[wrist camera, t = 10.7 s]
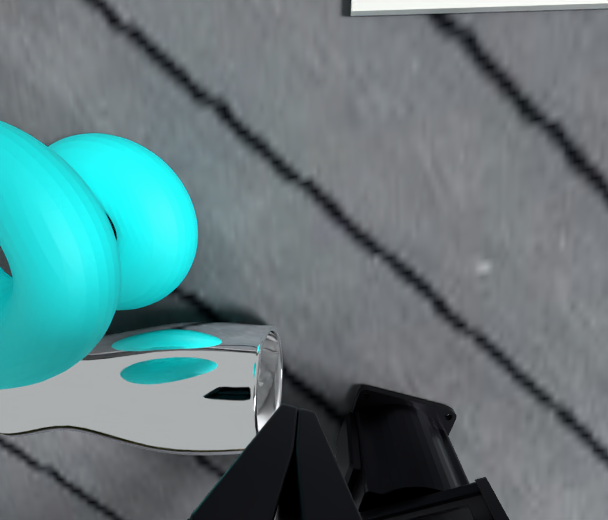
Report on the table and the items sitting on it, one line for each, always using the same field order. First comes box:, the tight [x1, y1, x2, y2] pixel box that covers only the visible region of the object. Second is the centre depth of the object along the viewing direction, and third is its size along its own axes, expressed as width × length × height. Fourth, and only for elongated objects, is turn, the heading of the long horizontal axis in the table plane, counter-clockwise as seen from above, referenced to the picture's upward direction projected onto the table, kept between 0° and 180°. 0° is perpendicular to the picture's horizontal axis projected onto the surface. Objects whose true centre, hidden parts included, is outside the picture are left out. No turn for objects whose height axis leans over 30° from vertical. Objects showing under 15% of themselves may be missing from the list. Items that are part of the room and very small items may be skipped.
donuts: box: [0, 121, 198, 389], centre depth 15 cm, size 10×10×10 cm
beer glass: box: [0, 322, 283, 455], centre depth 18 cm, size 7×7×15 cm
